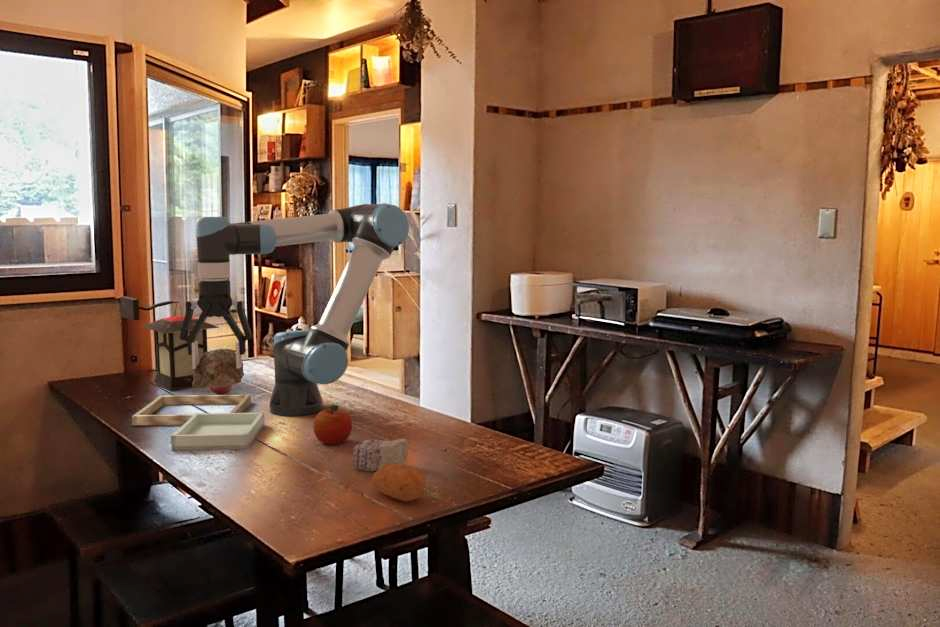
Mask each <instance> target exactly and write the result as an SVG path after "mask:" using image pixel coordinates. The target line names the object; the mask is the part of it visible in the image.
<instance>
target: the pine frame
mask: <svg viewBox="0 0 940 627" xmlns="http://www.w3.org/2000/svg"><path fill="white" fill-rule="evenodd" d="M251 403H252V395H251V394H225V395H217V394H195V395H193V394H191V395H189V394H188V395H187V394H186V395H181V394H180V395H159V396H158V397H157V398H155V399H154V400H152V401H151V402H150V403H148V404H147V405H145V406H144V407H142V409H140V410H139V411H137V412H136V413H134V414H133V415H132V416H131V421H132V422H131V426H178V425H180V426H182V425H184V424H185V423H186V422H187V421H188V420H189V419H190V418H191V417H192V416H193V415H194V414H195V413H192V414H189V413H187V414H185V413H184V414H154V413H155V412H156V411H158V410H159V409H160V408H162V407H163V406H167V405H169V406H173V405H175V406H176V405H177V406H179V405H180V406H182V405H183V406H184V405H185V404H189V405H236V406H235V407H234V408H233V409H232V410H231V411H230V412H229V413H244V411H245V410H247V408H248V407H249V406H250V404H251Z"/></svg>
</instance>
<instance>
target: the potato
mask: <svg viewBox="0 0 940 627" xmlns="http://www.w3.org/2000/svg"><path fill="white" fill-rule="evenodd" d="M372 483H373V485H374V487H375V488H376V490H378V491H379V492H381V493H383V494H384V495H386V496H389V497H391V498H393V499H394V500H397V501H401V502H405V503H407V502H412V501H415V500H418V499H421V497H422V496H423V493H424V492H425V489H426V480H425V477H424V476H423V474H422V473H420V472H418V471H417V470H415V469H413V468H411V467H410V466H407V465H405V464H404V465H402V464H389V465H385V466H383V467H381V468H380V469H378V470H375V472H374V473H373V476H372Z"/></svg>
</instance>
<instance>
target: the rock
mask: <svg viewBox="0 0 940 627" xmlns="http://www.w3.org/2000/svg"><path fill="white" fill-rule="evenodd" d="M207 351H208V352H205V353H204V354H202V356H201V358H200V361H199V365H198V366H197V368H196V369H195V370H194V373H193V379H194V380H193V382H192V386H193V388H192V389H198V390H202V389H210V388H212V387H223V386H230V385H232V386H234V385H239V384H241V382H242V379H243V377H244V376H245V373H244V363H243V361H242V367H241V368H236V350H234V349H230V348H224V349H223V348H218V349H213V350H207Z"/></svg>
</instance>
